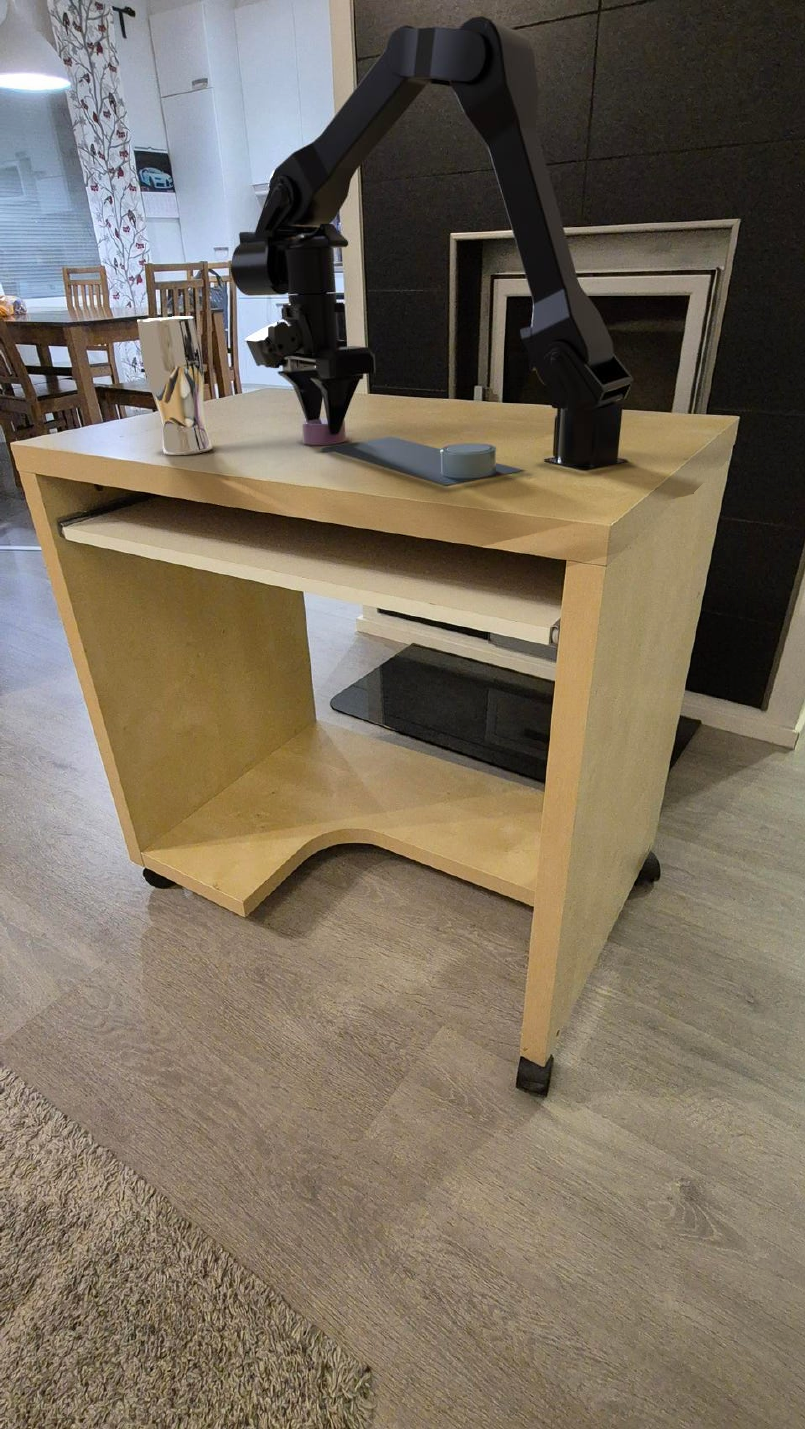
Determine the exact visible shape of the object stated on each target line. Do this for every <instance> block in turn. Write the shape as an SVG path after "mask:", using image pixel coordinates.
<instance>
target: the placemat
mask: <svg viewBox="0 0 805 1429" xmlns="http://www.w3.org/2000/svg"><path fill="white" fill-rule="evenodd" d="M441 449H442V448H439V447H434V446H431V445H426V444H423V443H422V444H421V443H418V442H413V441H410V440H405V439H401V438H398V437H394V436H387V437H382V438H375V439H368V440H362V441H354V442H348V443H343V444H342V443H341V444H335V445H328V446H324V447H322V448H321V452H322V453H326V454H328V453H333V452H334V453H336V454H340V455H343V456H347V457H349V458H353V459H355V460H359V461H362V462H366V463H369V464H372V465H375V466H378V467H382V468H385V469H389V470H391V471H395V472H399V473H401V474H404V475H407V476H411V477H413V478H417V479H421V480H424V481H427V482H431V483H434V484H437V485H439V486H443V487H450V486H455V485H459V484H464V483H469V482H475V481H479V480H484V479H490V478H494V477H500V476H505V475H510V474H514V473H520V472H524V471H525V469H521V468H517V467H515V466H509V465H505V464H501V463H498V462H496V472H495V474H493V475H491V476H488V477H483V478H475V479H457V478H450V477H446V476H443V475H442V474H441Z"/></svg>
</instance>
